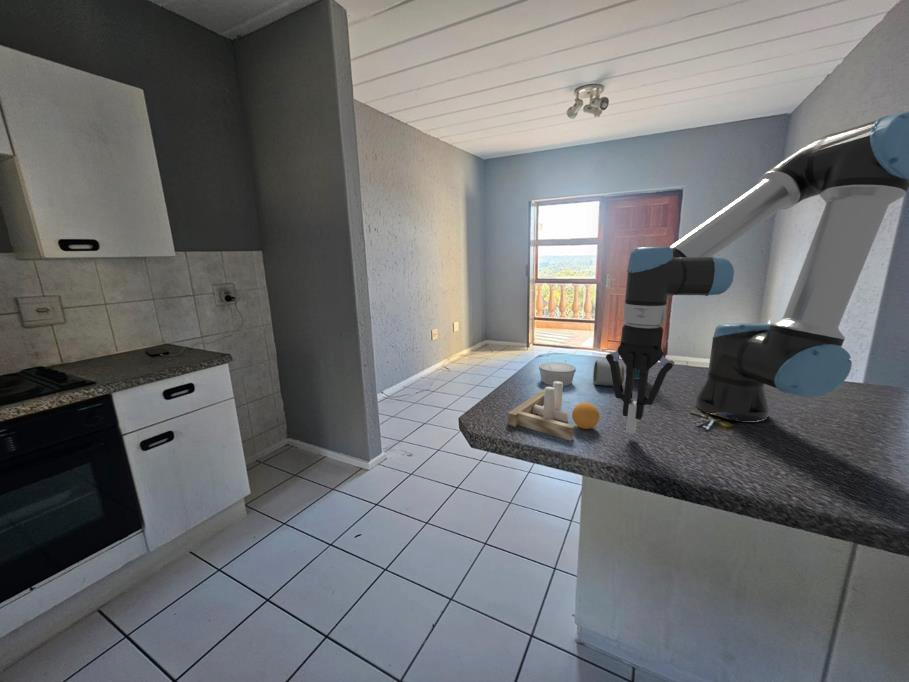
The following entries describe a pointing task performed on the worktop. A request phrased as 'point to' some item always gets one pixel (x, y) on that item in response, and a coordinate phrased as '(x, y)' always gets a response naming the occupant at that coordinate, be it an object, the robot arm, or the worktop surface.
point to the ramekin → (557, 373)
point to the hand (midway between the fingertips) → (630, 430)
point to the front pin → (557, 414)
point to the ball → (585, 415)
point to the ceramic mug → (604, 373)
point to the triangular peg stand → (539, 419)
